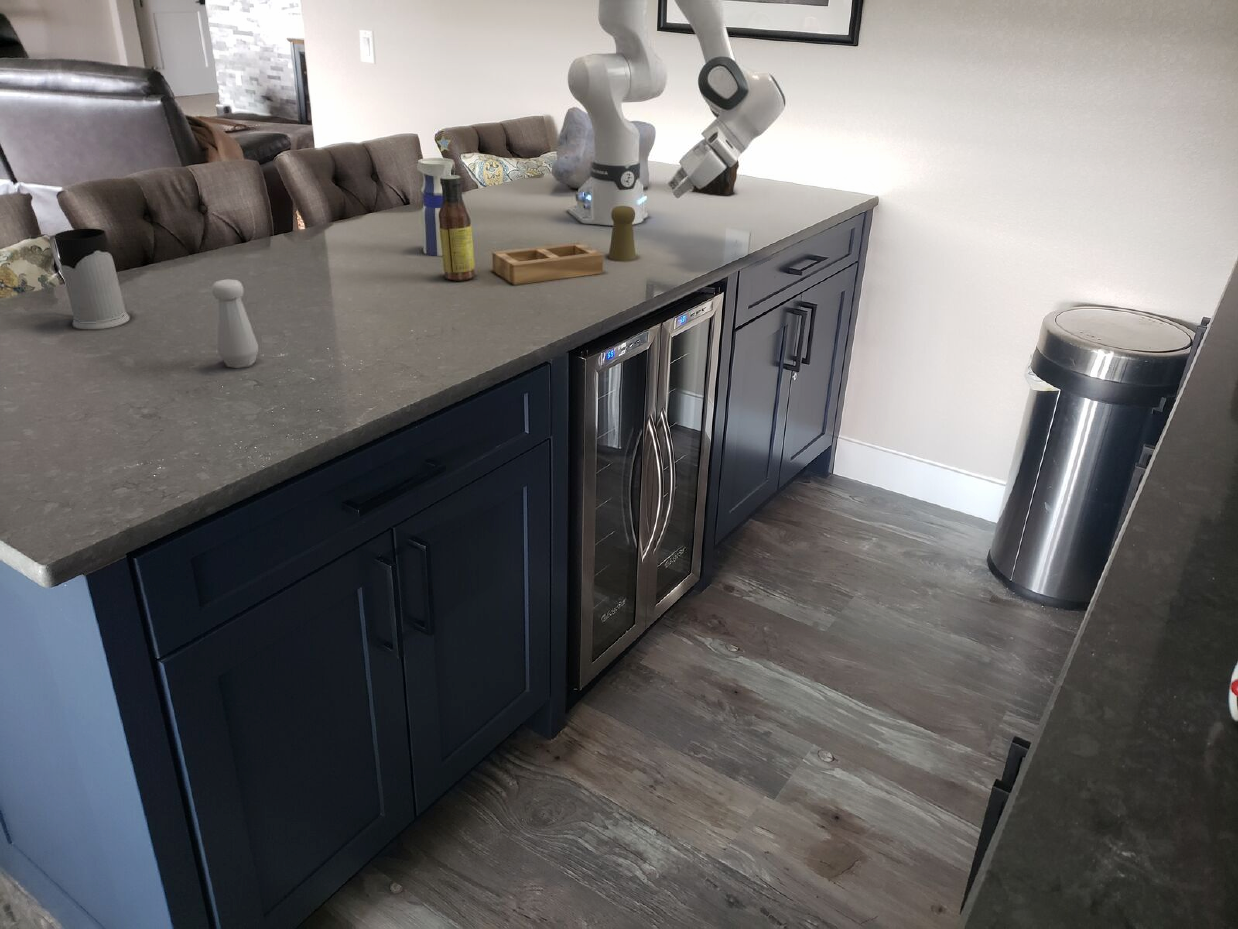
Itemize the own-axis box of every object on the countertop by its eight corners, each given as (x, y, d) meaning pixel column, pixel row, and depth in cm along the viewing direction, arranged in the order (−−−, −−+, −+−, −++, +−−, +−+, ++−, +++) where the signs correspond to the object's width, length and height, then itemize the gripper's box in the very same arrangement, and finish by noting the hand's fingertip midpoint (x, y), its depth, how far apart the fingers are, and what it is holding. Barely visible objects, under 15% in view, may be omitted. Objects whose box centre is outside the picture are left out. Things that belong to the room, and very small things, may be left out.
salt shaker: (227, 356, 146) (212, 275, 140) (264, 356, 147) (251, 275, 141) (216, 370, 141) (200, 286, 135) (254, 369, 142) (240, 286, 136)
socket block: (492, 271, 193) (492, 251, 191) (578, 260, 201) (578, 242, 200) (514, 285, 184) (513, 265, 182) (602, 273, 193) (603, 254, 191)
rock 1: (547, 210, 266) (547, 155, 283) (650, 220, 271) (644, 166, 287) (556, 140, 248) (555, 86, 265) (665, 153, 253) (658, 99, 270)
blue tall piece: (468, 249, 208) (462, 131, 196) (446, 257, 201) (439, 136, 189) (438, 244, 211) (430, 128, 199) (415, 252, 204) (406, 133, 192)
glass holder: (91, 332, 154) (69, 243, 147) (44, 316, 161) (20, 230, 154) (140, 319, 161) (120, 232, 154) (92, 304, 167) (71, 220, 161)
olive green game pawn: (633, 261, 202) (634, 210, 196) (605, 259, 203) (606, 208, 197) (638, 254, 207) (639, 204, 202) (611, 252, 208) (612, 202, 203)
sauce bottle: (480, 275, 190) (475, 175, 180) (466, 283, 184) (460, 180, 175) (451, 271, 191) (445, 172, 182) (436, 279, 186) (429, 177, 177)
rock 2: (718, 185, 280) (723, 115, 270) (751, 192, 272) (757, 120, 262) (690, 190, 272) (694, 118, 262) (723, 198, 264) (728, 123, 255)
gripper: (704, 125, 203) (658, 171, 207) (717, 139, 184) (666, 189, 188) (723, 147, 205) (677, 191, 209) (738, 163, 187) (687, 211, 191)
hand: (672, 190), depth 199 cm, fingers open, 8 cm apart
